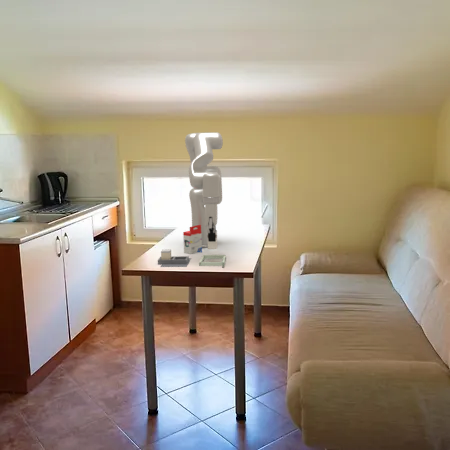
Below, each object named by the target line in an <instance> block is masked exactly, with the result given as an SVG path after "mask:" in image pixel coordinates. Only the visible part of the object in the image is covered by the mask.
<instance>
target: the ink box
mask: <svg viewBox="0 0 450 450" xmlns="http://www.w3.org/2000/svg"><path fill="white" fill-rule="evenodd" d="M195 227H196V228H197V229H194V228H195ZM182 235H183V236H182V237H183V253H184V254H188V255H192V254H196V253H197V254H198V253H202V252H203V248H202V235H201V225H196V226H192V225H191V226H190V227H189V230H187V231H186V230H185V231H183V233H182Z"/></svg>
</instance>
